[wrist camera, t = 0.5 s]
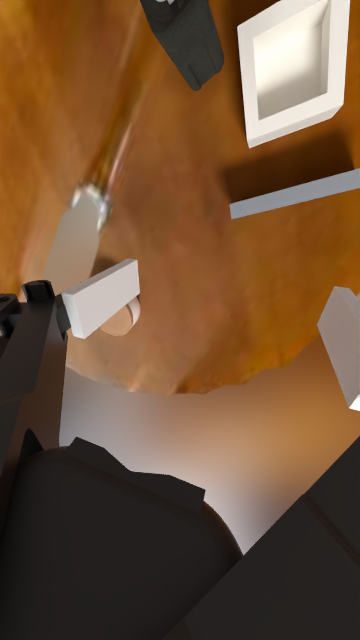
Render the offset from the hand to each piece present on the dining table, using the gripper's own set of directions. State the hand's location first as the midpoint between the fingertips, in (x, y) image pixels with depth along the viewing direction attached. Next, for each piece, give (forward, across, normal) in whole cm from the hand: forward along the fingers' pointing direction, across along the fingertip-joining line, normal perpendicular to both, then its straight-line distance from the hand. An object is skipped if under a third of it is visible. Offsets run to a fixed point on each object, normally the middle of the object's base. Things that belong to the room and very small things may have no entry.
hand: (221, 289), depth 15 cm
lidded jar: (+27, -25, -18) cm, 41 cm away
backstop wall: (+27, +5, +5) cm, 28 cm away
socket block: (+27, +2, +17) cm, 32 cm away
